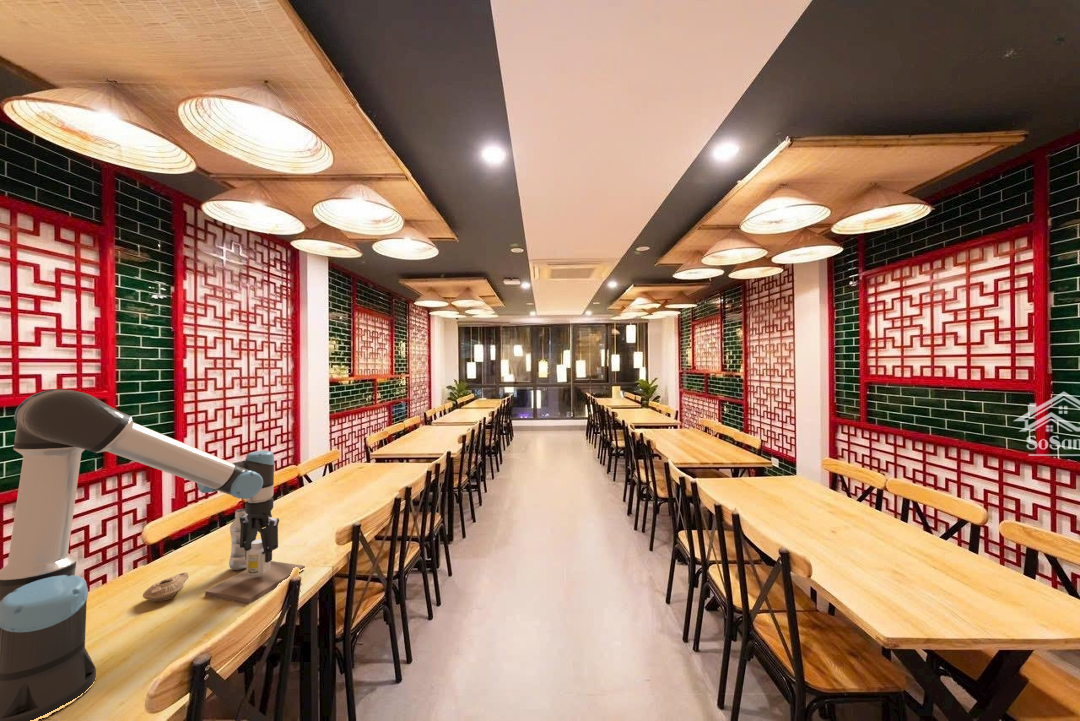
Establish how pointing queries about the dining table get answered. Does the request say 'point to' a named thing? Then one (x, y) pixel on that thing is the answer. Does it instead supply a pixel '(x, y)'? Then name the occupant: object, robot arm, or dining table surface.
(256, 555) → the supplement bottle
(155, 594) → the pottery oil lamp
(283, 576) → the serving board
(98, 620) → the dining table surface
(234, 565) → the plastic bottle
